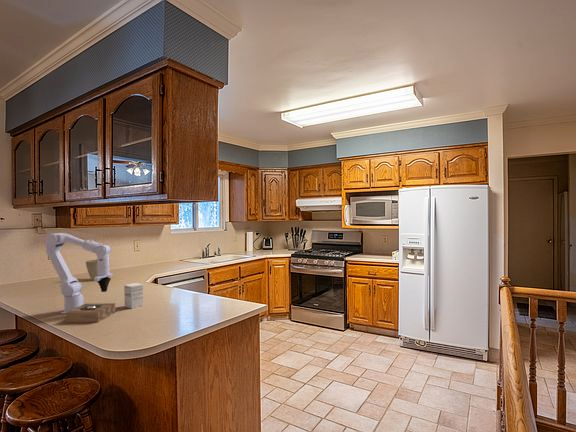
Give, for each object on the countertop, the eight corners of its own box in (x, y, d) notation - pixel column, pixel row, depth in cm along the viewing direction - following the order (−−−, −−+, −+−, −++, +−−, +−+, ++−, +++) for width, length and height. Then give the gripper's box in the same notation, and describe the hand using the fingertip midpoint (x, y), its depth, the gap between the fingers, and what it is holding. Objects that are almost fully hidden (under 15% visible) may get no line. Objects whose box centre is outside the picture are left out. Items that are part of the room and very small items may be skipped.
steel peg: (90, 315, 172) (89, 305, 172) (97, 315, 172) (97, 305, 172) (85, 317, 168) (85, 307, 168) (93, 317, 168) (93, 307, 168)
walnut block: (85, 312, 178) (85, 302, 178) (115, 312, 178) (115, 302, 178) (65, 322, 162) (65, 311, 162) (98, 322, 162) (98, 311, 162)
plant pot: (92, 278, 276) (91, 259, 276) (110, 277, 277) (110, 258, 277) (82, 282, 261) (81, 262, 261) (101, 281, 262) (101, 261, 262)
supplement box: (124, 307, 188) (123, 284, 188) (136, 304, 195) (135, 282, 194) (131, 309, 184) (131, 286, 184) (143, 305, 191) (143, 283, 190)
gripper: (103, 269, 175) (104, 294, 175) (117, 264, 189) (118, 288, 190) (90, 269, 175) (90, 294, 175) (105, 264, 189) (105, 288, 190)
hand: (104, 291), depth 182 cm, fingers closed
